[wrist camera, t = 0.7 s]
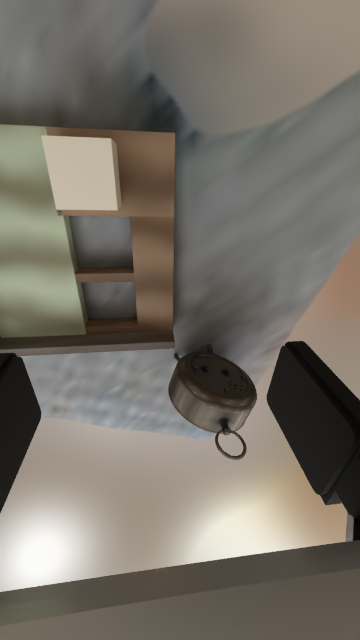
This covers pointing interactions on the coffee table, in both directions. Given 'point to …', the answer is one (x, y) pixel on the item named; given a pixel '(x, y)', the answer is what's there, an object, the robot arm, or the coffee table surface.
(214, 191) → the coffee table surface
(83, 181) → the block
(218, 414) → the alarm clock
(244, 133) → the coffee table surface
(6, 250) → the box
